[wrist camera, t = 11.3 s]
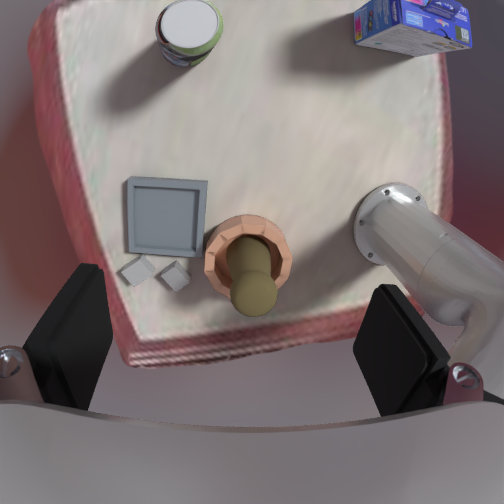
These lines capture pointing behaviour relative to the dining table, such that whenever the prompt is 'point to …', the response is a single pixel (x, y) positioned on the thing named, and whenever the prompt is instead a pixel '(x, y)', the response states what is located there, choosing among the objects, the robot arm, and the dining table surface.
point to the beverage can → (188, 31)
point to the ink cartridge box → (413, 26)
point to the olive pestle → (251, 276)
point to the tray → (166, 216)
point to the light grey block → (138, 270)
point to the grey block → (176, 276)
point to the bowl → (235, 228)
